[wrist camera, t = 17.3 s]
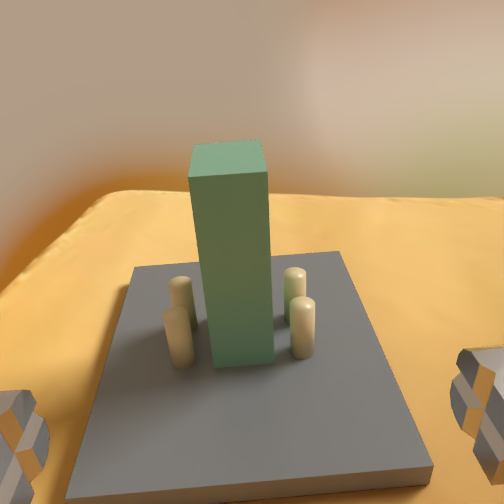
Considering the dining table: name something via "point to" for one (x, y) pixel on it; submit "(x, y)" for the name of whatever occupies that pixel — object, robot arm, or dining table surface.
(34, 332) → the dining table surface
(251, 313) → the board block
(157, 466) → the pin base
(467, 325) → the dining table surface
